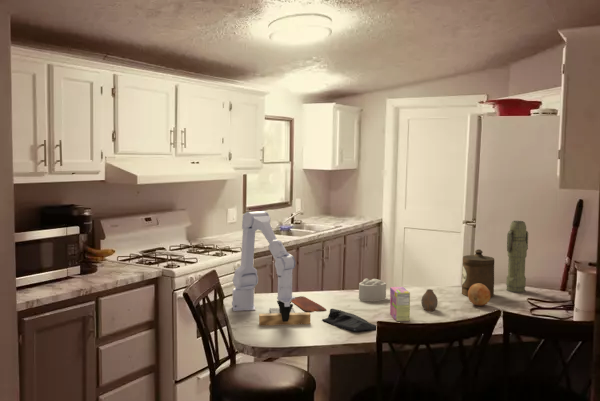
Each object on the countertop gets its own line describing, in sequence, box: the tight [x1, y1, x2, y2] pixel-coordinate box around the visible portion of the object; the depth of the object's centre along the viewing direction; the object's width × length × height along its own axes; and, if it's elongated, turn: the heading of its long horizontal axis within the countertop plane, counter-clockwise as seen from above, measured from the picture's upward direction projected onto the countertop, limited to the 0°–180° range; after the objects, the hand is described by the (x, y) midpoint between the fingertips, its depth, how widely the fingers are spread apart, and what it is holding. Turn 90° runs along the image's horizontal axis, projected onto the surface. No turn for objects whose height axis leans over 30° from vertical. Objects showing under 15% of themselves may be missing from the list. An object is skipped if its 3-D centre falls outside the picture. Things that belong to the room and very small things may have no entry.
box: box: [389, 286, 411, 322], centre depth 228 cm, size 10×6×12 cm, turn 5°
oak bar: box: [258, 311, 311, 326], centre depth 219 cm, size 20×3×4 cm, turn 98°
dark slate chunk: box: [321, 308, 377, 333], centre depth 219 cm, size 15×22×5 cm
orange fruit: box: [467, 283, 491, 307], centre depth 248 cm, size 10×10×10 cm
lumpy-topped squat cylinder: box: [358, 278, 387, 302], centre depth 260 cm, size 10×13×9 cm
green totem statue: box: [505, 220, 529, 294], centre depth 276 cm, size 9×12×35 cm
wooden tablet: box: [291, 295, 327, 313], centre depth 248 cm, size 27×10×2 cm, turn 21°
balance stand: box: [269, 307, 296, 313], centre depth 231 cm, size 10×14×5 cm
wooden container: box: [461, 249, 495, 298], centre depth 268 cm, size 15×15×22 cm
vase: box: [421, 288, 439, 312], centre depth 241 cm, size 7×7×9 cm
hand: (284, 320), depth 219 cm, fingers open, 3 cm apart
